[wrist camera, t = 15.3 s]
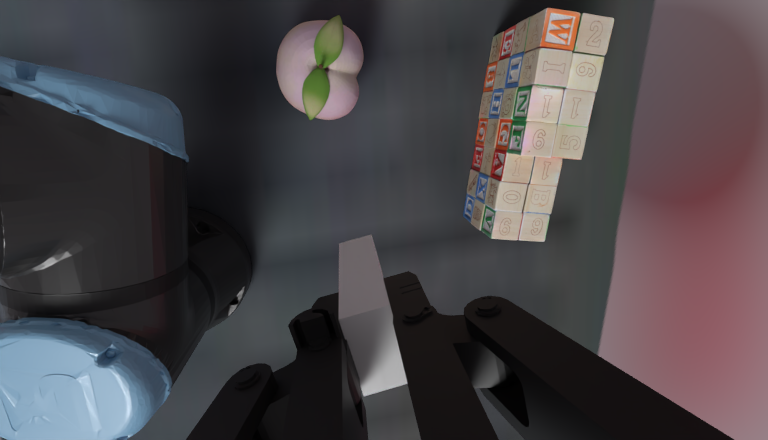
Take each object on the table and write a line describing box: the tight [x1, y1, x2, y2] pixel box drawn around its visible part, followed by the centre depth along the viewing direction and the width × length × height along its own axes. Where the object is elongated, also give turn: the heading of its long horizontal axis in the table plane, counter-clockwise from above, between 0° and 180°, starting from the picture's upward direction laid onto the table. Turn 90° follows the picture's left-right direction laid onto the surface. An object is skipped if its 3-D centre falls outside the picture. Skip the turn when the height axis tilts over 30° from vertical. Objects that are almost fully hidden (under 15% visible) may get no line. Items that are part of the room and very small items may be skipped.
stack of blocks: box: [463, 8, 614, 242], centre depth 40 cm, size 21×6×12 cm, turn 173°
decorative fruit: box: [276, 15, 364, 120], centre depth 38 cm, size 9×8×10 cm
